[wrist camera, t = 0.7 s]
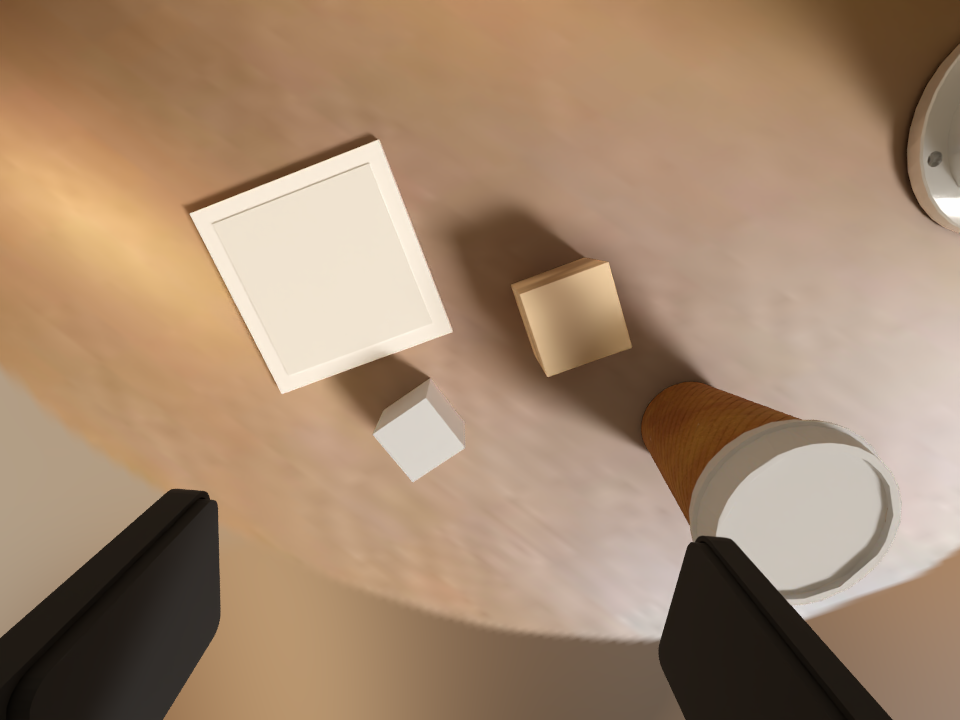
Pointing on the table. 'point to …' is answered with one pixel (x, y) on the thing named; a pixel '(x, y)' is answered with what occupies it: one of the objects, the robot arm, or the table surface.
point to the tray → (325, 267)
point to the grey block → (421, 430)
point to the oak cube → (572, 315)
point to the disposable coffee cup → (775, 487)
